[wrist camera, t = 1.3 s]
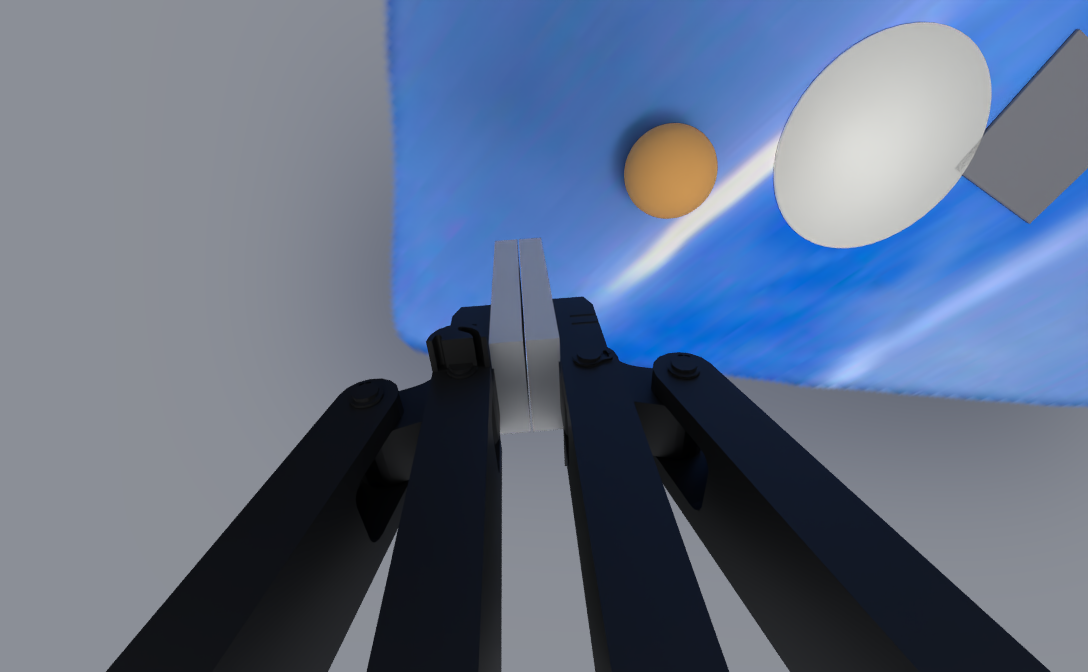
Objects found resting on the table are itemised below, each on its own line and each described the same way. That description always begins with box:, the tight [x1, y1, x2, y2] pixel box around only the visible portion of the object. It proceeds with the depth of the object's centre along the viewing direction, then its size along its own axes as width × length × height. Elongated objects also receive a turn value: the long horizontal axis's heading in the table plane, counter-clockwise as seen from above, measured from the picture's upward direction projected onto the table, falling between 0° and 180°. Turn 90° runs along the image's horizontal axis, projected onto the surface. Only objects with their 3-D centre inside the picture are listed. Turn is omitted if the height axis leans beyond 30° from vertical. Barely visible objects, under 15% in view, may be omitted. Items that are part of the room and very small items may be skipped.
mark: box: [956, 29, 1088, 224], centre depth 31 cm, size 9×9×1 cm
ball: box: [624, 123, 718, 219], centre depth 28 cm, size 6×6×6 cm
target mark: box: [773, 22, 991, 248], centre depth 31 cm, size 14×14×1 cm
